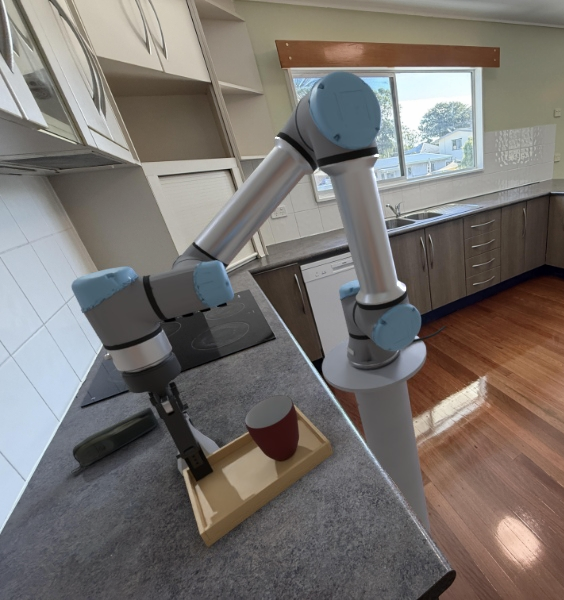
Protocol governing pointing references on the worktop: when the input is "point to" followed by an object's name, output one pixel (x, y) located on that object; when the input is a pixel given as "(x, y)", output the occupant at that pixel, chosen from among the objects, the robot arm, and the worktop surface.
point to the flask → (205, 443)
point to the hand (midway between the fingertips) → (197, 456)
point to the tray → (249, 479)
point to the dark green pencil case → (113, 438)
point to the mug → (274, 427)
